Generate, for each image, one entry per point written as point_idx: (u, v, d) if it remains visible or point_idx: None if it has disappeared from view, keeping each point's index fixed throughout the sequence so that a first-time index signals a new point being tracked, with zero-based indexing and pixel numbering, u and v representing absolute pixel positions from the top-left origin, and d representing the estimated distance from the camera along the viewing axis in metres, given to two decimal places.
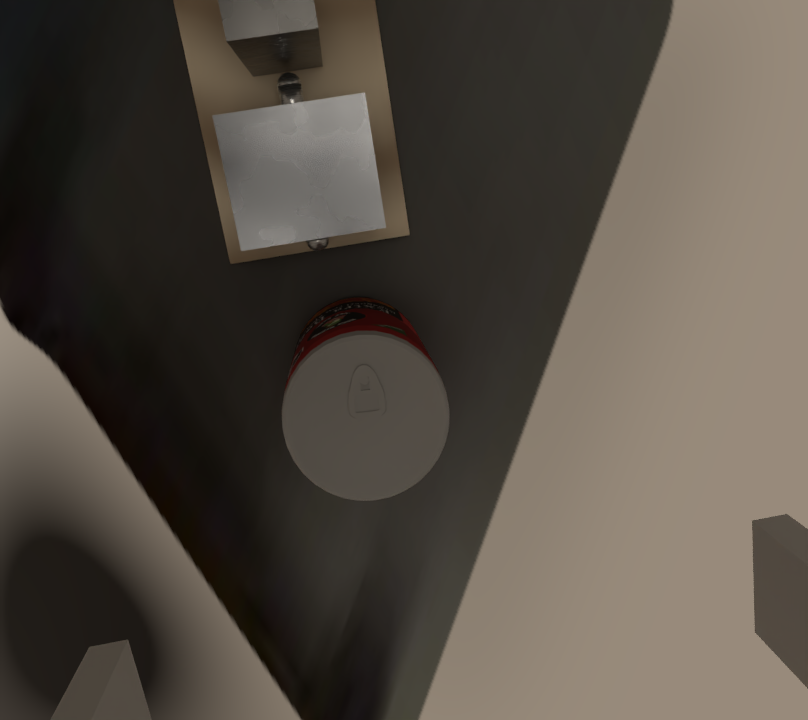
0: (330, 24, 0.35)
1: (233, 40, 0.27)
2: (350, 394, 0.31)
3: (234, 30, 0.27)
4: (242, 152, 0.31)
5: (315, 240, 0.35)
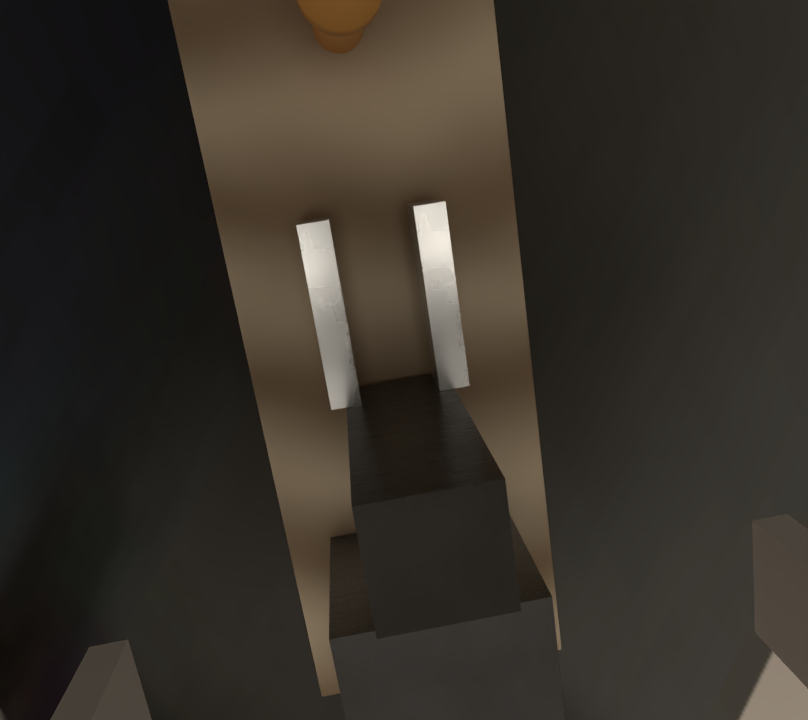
0: (470, 407, 0.25)
1: (387, 635, 0.17)
2: None
3: (390, 624, 0.17)
4: (370, 680, 0.21)
5: None
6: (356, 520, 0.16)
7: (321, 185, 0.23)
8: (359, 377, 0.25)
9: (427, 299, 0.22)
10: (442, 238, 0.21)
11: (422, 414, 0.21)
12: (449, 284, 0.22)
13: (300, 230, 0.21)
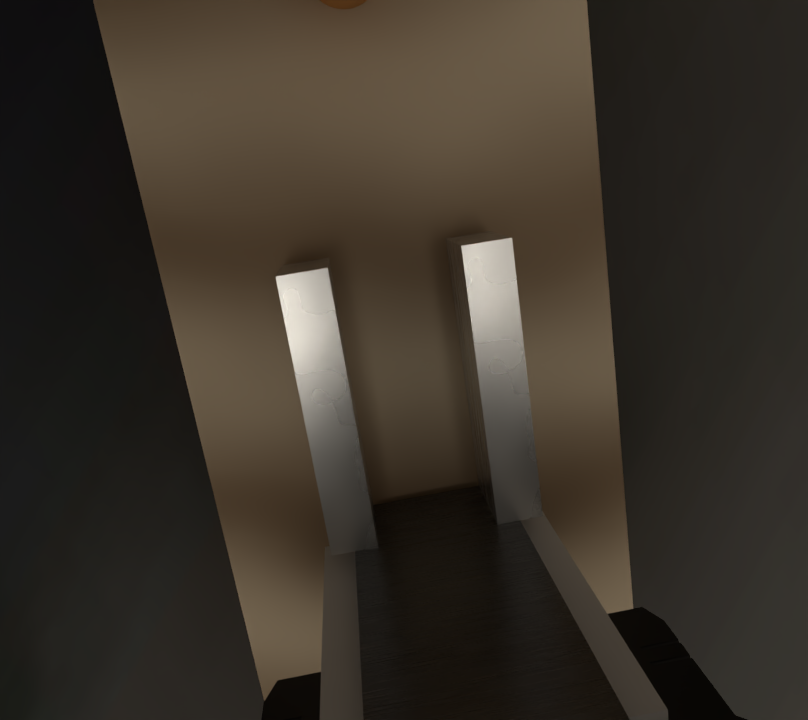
0: None
1: None
2: None
3: None
4: None
5: None
6: None
7: (317, 211, 0.15)
8: (372, 490, 0.17)
9: (480, 388, 0.14)
10: (506, 295, 0.14)
11: (477, 578, 0.13)
12: (515, 365, 0.14)
13: (282, 284, 0.13)
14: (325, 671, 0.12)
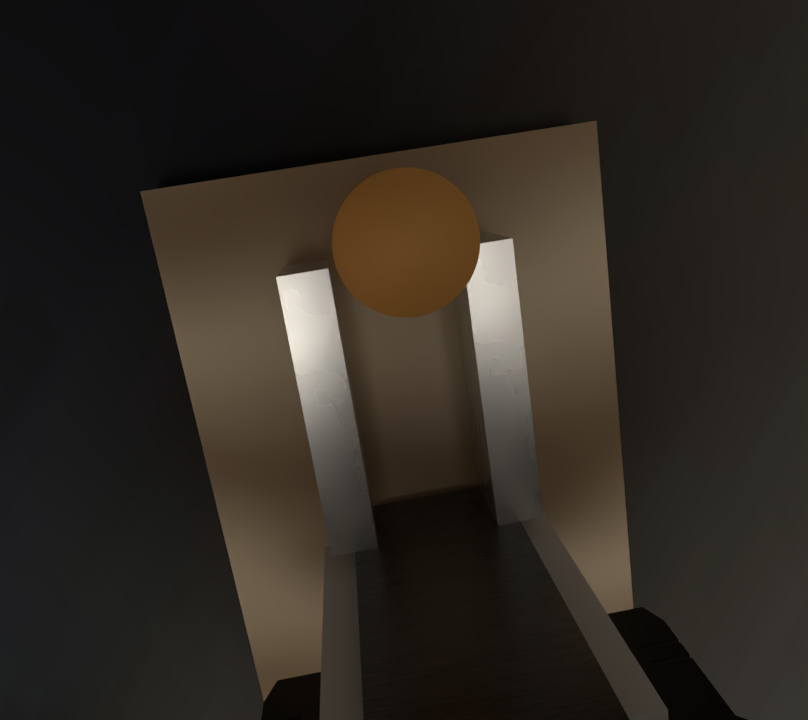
0: None
1: None
2: None
3: None
4: None
5: None
6: None
7: None
8: None
9: (481, 389, 0.14)
10: (506, 296, 0.14)
11: (477, 580, 0.13)
12: (516, 366, 0.14)
13: (282, 285, 0.13)
14: (325, 671, 0.12)
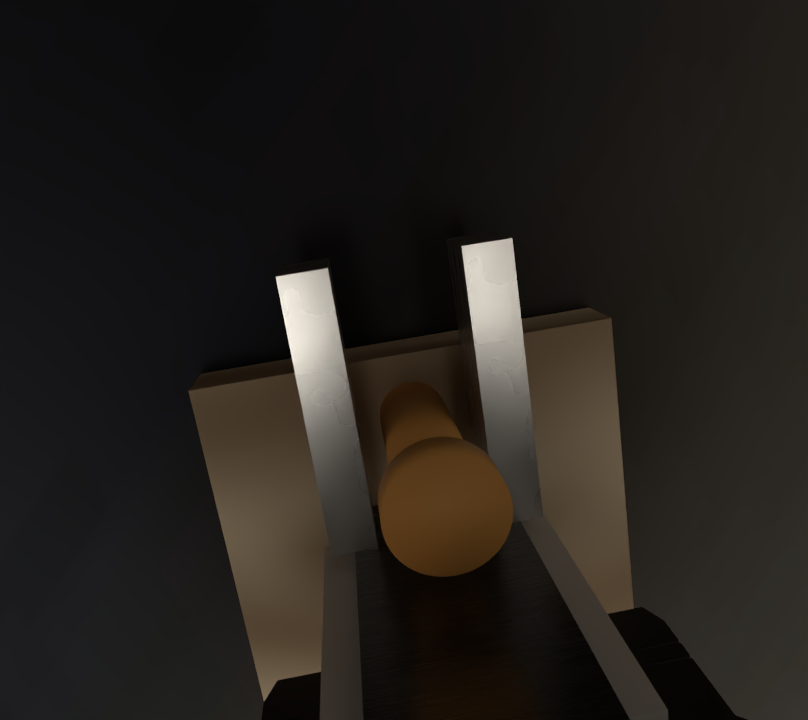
0: None
1: None
2: None
3: None
4: None
5: None
6: None
7: None
8: None
9: (481, 389, 0.14)
10: (506, 295, 0.14)
11: (477, 579, 0.13)
12: (515, 366, 0.14)
13: (282, 285, 0.13)
14: (325, 671, 0.12)
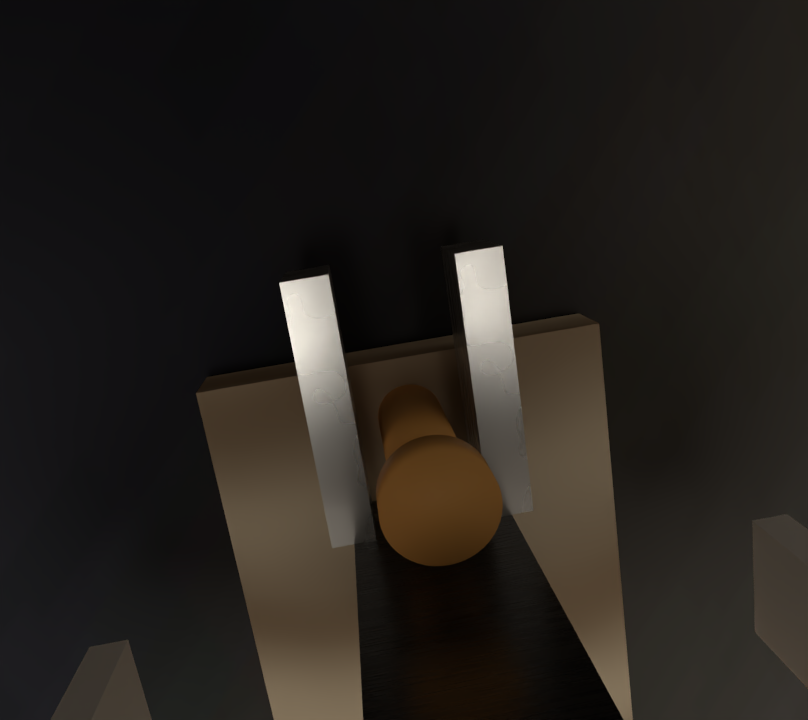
0: None
1: None
2: None
3: None
4: None
5: None
6: None
7: None
8: None
9: (473, 388, 0.15)
10: (497, 300, 0.14)
11: (470, 568, 0.14)
12: (506, 367, 0.15)
13: (285, 290, 0.14)
14: None
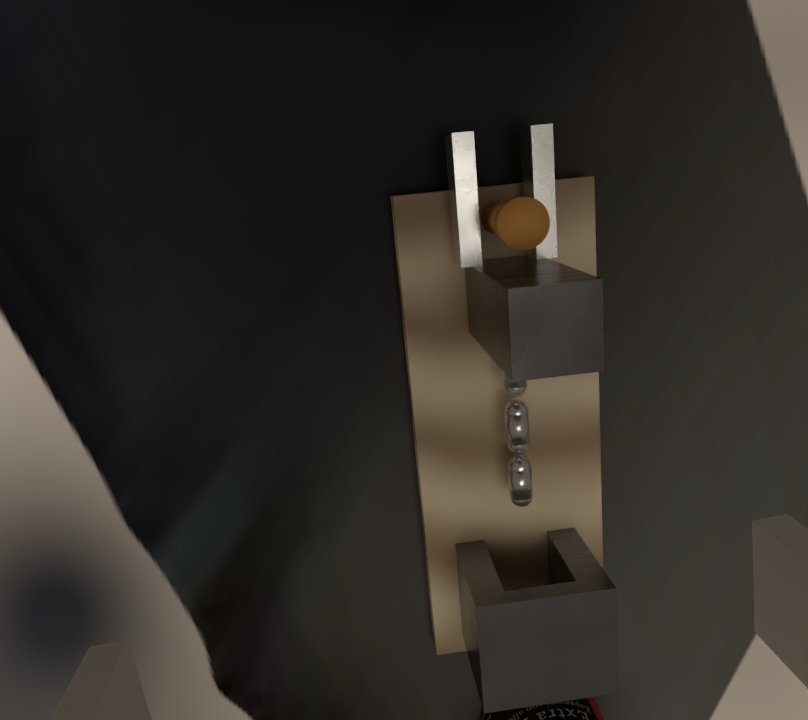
0: (556, 460, 0.38)
1: (519, 380, 0.26)
2: None
3: (522, 372, 0.26)
4: (498, 636, 0.33)
5: (522, 500, 0.35)
6: (509, 298, 0.26)
7: None
8: (486, 437, 0.37)
9: (534, 192, 0.32)
10: (548, 149, 0.31)
11: (530, 266, 0.31)
12: (550, 182, 0.32)
13: (454, 136, 0.31)
14: None
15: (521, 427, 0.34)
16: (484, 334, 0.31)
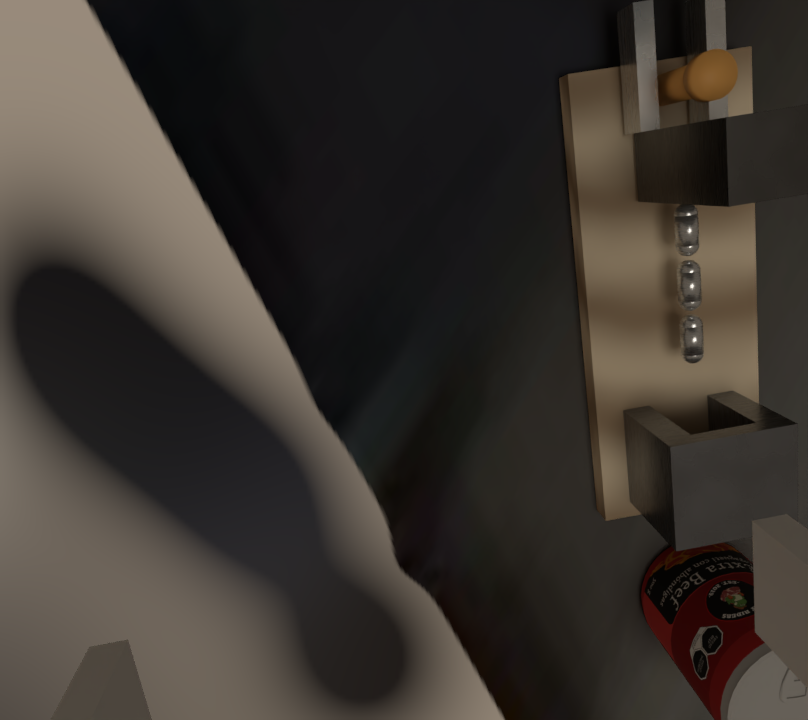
0: (716, 325, 0.40)
1: (734, 205, 0.29)
2: (782, 684, 0.36)
3: (737, 197, 0.29)
4: (690, 474, 0.36)
5: (696, 355, 0.38)
6: (727, 126, 0.28)
7: None
8: (651, 304, 0.40)
9: None
10: (720, 14, 0.34)
11: None
12: (722, 46, 0.34)
13: (635, 6, 0.33)
14: None
15: (695, 284, 0.37)
16: (671, 188, 0.34)
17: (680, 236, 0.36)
